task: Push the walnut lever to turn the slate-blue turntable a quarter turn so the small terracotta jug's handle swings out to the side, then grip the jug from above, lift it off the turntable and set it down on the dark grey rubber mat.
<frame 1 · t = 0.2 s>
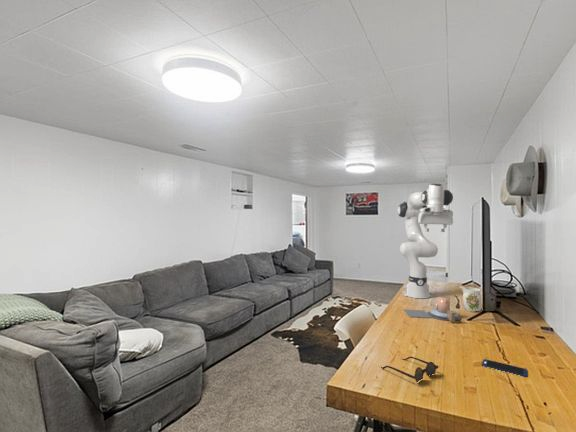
hand: (435, 231, 199), 48 cm above the table, tool pointing down, fingers open, 8 cm apart
jug: (443, 312, 183), point 2 cm above the table, touching turntable
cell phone: (504, 369, 119), on the table
base plate: (443, 316, 183), on the table
turntable: (445, 311, 180), point 3 cm above the table, hinge at 0.0°, touching jug
mat: (417, 314, 186), on the table
eyeglasses: (407, 372, 116), on the table
pitcher: (474, 311, 196), on the table
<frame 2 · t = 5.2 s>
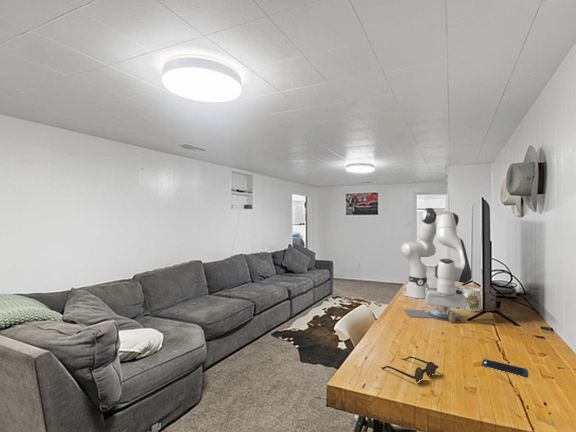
hand: (445, 314, 175), 3 cm above the table, tool pointing down, fingers closed
turntable: (445, 311, 180), point 3 cm above the table, hinge at 0.1°, touching gripper, jug
everything else where it was.
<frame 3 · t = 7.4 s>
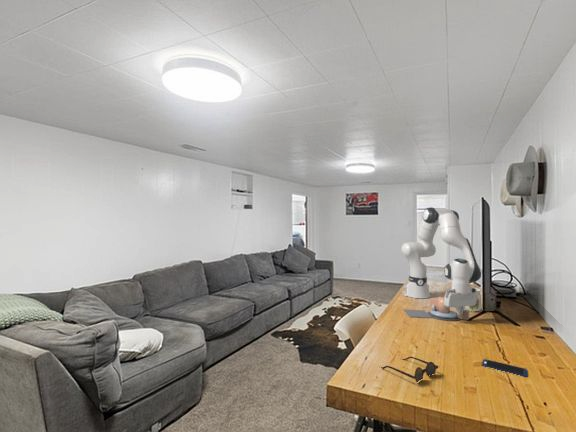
hand: (459, 314, 175), 4 cm above the table, tool pointing down, fingers closed
turntable: (449, 311, 181), point 3 cm above the table, hinge at 53.9°, touching gripper, jug
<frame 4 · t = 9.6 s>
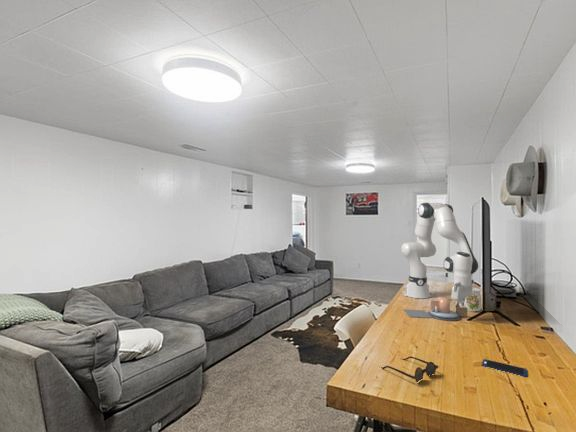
hand: (461, 305, 181), 7 cm above the table, tool pointing down, fingers closed
turntable: (448, 310, 183), point 3 cm above the table, hinge at 90.4°, touching jug
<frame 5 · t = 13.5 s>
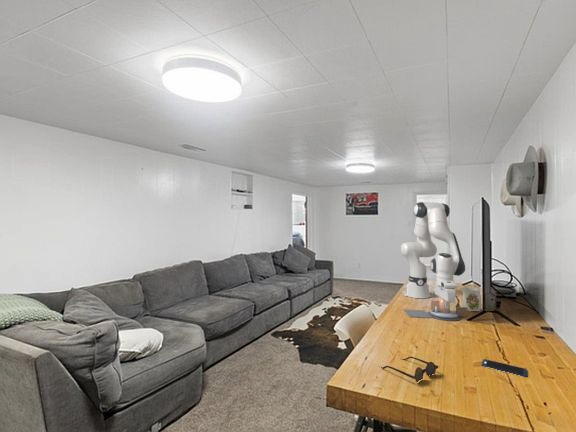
hand: (444, 306, 183), 6 cm above the table, tool pointing down, fingers closed on jug, 6 cm apart
jug: (443, 312, 183), point 2 cm above the table, touching gripper, turntable
everything else where it was.
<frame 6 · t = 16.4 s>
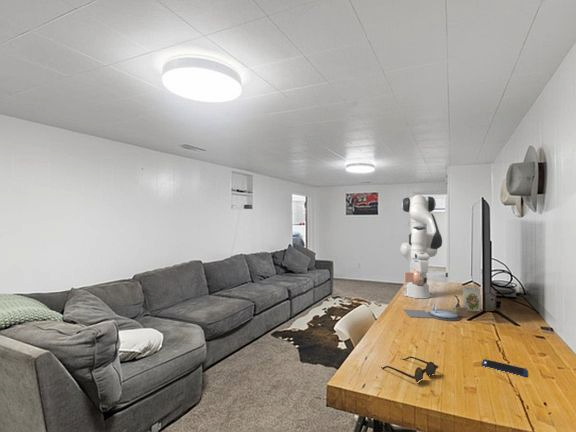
hand: (418, 278, 186), 21 cm above the table, tool pointing down, fingers closed on jug, 6 cm apart
jug: (418, 284, 186), point 17 cm above the table, touching gripper
turntable: (448, 310, 183), point 3 cm above the table, hinge at 90.4°
everything else where it was.
when the fingers open (5 cm above the table, at t = 19.7 s): jug drops 1 cm, resting on mat.
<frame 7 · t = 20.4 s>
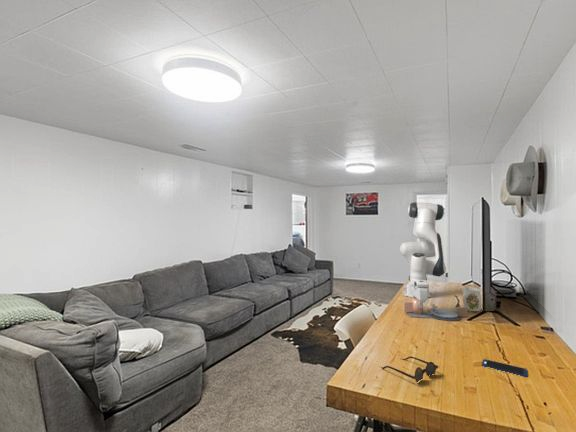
hand: (417, 305, 186), 5 cm above the table, tool pointing down, fingers open, 8 cm apart
jug: (417, 313, 186), resting on mat
everything else where it was.
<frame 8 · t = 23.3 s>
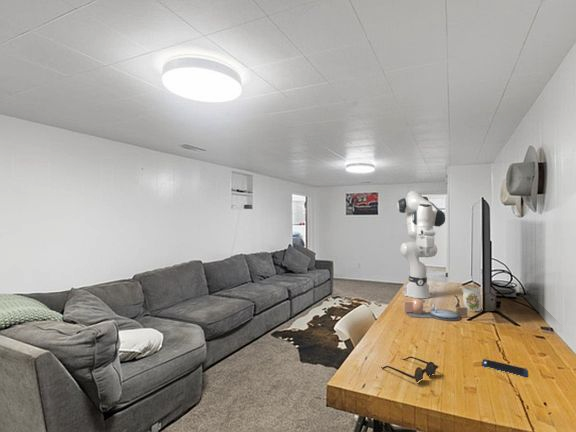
hand: (424, 254, 189), 34 cm above the table, tool pointing down, fingers open, 8 cm apart
nothing on the table moved.
at the end: turntable at +90° (first picture: +0°); jug inside the target area on the mat (0.0 cm from its centre), point 0.4 cm above the mat's base; jug tilted 0° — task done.
